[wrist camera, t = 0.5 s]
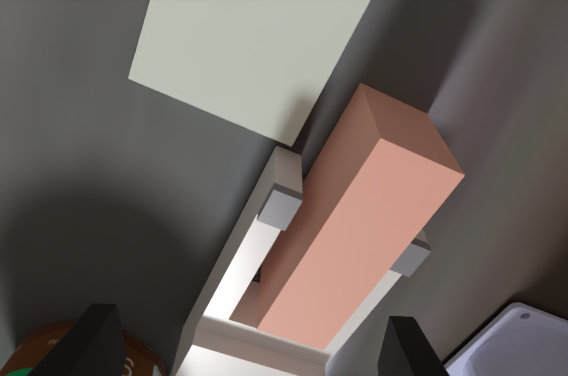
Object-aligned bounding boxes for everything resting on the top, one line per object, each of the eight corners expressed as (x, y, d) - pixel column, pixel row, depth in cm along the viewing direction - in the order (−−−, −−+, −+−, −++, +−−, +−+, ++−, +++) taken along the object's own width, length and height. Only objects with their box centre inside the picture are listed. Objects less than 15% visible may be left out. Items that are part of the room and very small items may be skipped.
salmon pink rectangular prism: (426, 112, 19) (465, 175, 15) (317, 270, 24) (323, 350, 20) (360, 81, 18) (380, 138, 14) (262, 250, 23) (256, 329, 19)
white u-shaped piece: (411, 201, 21) (434, 259, 18) (291, 359, 28) (291, 423, 24) (276, 145, 20) (273, 197, 16) (183, 326, 26) (167, 390, 23)
